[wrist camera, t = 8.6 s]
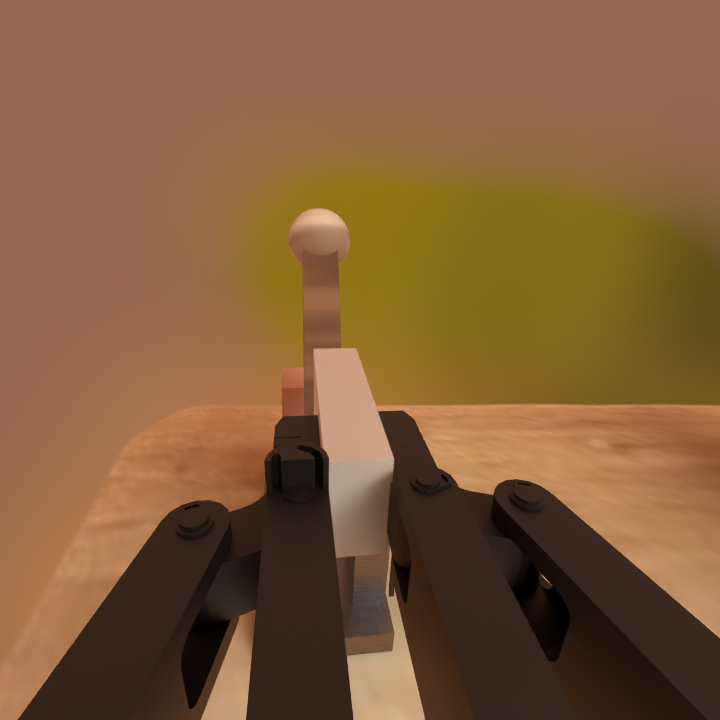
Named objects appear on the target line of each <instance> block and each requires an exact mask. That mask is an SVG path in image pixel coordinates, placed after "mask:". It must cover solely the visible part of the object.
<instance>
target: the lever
mask: <svg viewBox="0 0 720 720" xmlns="http://www.w3.org/2000/svg"><path fill="white" fill-rule="evenodd" d="M349 242H350V239H349V232H348V229H347V227H346V225H345V223H344V222H343V220H342V219H341V218H340V217H339V216H338V215H336V214H335V213H334V212H332V211H329V210H327V209H321V208H316V209H310V210H307V211H305V212H303V213H302V214H301V215H299V216H298V217H297V218H296V219H295V221H294V222H293V224H292V226H291V229H290V232H289V246H290V250H291V252H292V254H293V256H294V257H295V259H296V260H297V261H298V262H299V263H300V264H301V265H302V266H303V335H304V336H303V341H304V416H306V415H314V351H313V349H331V348H341V330H340V301H339V300H340V299H339V270H338V265H339V264H340V263H341V262H342V260H343V259H344V258H345V256H346V254H347V252H348V249H349Z"/></svg>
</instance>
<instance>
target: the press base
mask: <svg viewBox="0 0 720 720" xmlns="http://www.w3.org/2000/svg"><path fill="white" fill-rule="evenodd" d="M265 494H266V480H265V489H264V495H265ZM389 550H390V543H389V539H388V544H387V554H376V555H363V556H351V557H339V558H336V562H337V571H338V580H339V590H340V599H341V609H342V618H343V627H344V637H345V646H346V655H355V654H365V653H374V652H384V651H392V648H393V639H394V630H393V625H392V621H391V616H390V611H389V607H388V602H387V597H386V593H385V591H386V581H387V571H388V561H389Z"/></svg>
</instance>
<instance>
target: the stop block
mask: <svg viewBox="0 0 720 720" xmlns="http://www.w3.org/2000/svg"><path fill="white" fill-rule="evenodd" d="M282 412H283V416H304V367H286V368H285V367H284V368H283V381H282Z"/></svg>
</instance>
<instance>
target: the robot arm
mask: <svg viewBox="0 0 720 720" xmlns="http://www.w3.org/2000/svg"><path fill="white" fill-rule="evenodd" d="M313 351H314V415H306V416H283V417H282V419H281V420H280V421H279V422H278V423H277V425H276V426H275V435H274V449H273V450H272V451H271V452H270V453H268V454H267V457H266V459H265V461H264V462H265V479H266V494H265V495H264V496H263V497H262V498H260V499H259V500H258V501H256V502H255V503H253V504H251V505H249V506H246V507H244V508H241V509H238V510H235V511H231V512H228V509H227V508H226V507H224V506H223V505H222V504H220V503H217V502H214V501H210V500H205V501H194V502H190V503H187V504H183V505H181V506H180V507H178V508H176V509H174V510H172V511H171V512H170V513H169V514H168V515H167V516H166V517H165V518H164V519H163V520H162V521H161V522H160V524H159V525H158V526H157V528H156V529H155V531H154V532H153V533H152V535H151V536H150V538H149V539H148V540H147V542H146V543H145V544H144V546H143V547H142V549H141V550H140V551H139V553H138V554H137V556H136V557H135V558H134V560H133V561H132V562H131V564H130V565H129V567H128V568H127V569H126V571H125V572H124V574H123V575H122V576H121V578H120V579H119V580H118V582H117V583H116V585H115V586H114V587H113V589H112V590H111V592H110V593H109V594H108V596H107V597H106V598H105V600H104V601H103V603H102V604H101V605H100V607H99V608H98V610H97V611H96V612H95V614H94V615H93V616H92V618H91V619H90V621H89V622H88V623H87V625H86V626H85V628H84V629H83V630H82V632H81V633H80V634H79V636H78V637H77V639H76V640H75V641H74V643H73V644H72V646H71V647H70V648H69V650H68V651H67V652H66V654H65V655H64V657H63V658H62V659H61V661H60V662H59V664H58V665H57V666H56V668H55V669H54V670H53V672H52V673H51V675H50V676H49V677H48V679H47V680H46V682H45V683H44V684H43V686H42V687H41V688H40V690H39V691H38V693H37V694H36V695H35V697H34V698H33V700H32V701H31V702H30V704H29V705H28V706H27V708H26V709H25V711H24V712H23V713H22V715H21V716H20V718H19V719H18V720H201V718H202V715H203V712H204V710H205V707H206V705H207V702H208V699H209V697H210V694H211V692H212V689H213V686H214V684H215V681H216V679H217V676H218V673H219V671H220V668H221V666H222V663H223V660H224V658H225V655H226V653H227V650H228V647H229V645H230V642H231V640H232V637H233V634H234V632H235V629H236V627H237V624H238V621H239V616H240V615H242V614H245V613H247V612H250V611H252V610H255V609H256V616H255V627H254V638H253V649H252V660H251V671H250V683H249V694H248V705H247V716H246V720H353V711H352V702H351V693H350V683H349V674H348V665H347V655H346V646H345V637H344V627H343V618H342V609H341V599H340V590H339V580H338V571H337V562H336V558H339V557H351V556H363V555H376V554H387V544H388V539H389V543H390V547H391V551H392V558H391V570H390V582H389V597H390V596H394V587H395V592H396V596H397V600H398V605H399V609H400V613H401V617H402V622H403V626H404V630H405V634H406V639H407V643H408V647H409V651H410V656H411V660H412V664H413V669H414V673H415V677H416V681H417V686H418V690H419V694H420V698H421V703H422V707H423V711H424V716H425V720H720V638H719V637H717V636H716V635H715V634H714V633H713V632H712V631H711V630H709V629H708V628H707V627H706V626H705V625H704V624H702V623H701V622H700V621H699V620H698V619H697V618H695V617H694V616H693V615H692V614H691V613H690V612H688V611H687V610H686V609H685V608H684V607H683V606H681V605H680V604H679V603H678V602H677V601H676V600H675V599H673V598H672V597H671V596H670V595H669V594H668V593H666V592H665V591H664V590H663V589H662V588H661V587H659V586H658V585H657V584H656V583H655V582H654V581H652V580H651V579H650V578H649V577H648V576H647V575H646V574H644V573H643V572H642V571H641V570H640V569H639V568H637V567H636V566H635V565H634V564H633V563H632V562H630V561H629V560H628V559H627V558H626V557H625V556H623V555H622V554H621V553H620V552H619V551H618V550H616V549H615V548H614V547H613V546H612V545H611V544H610V543H608V542H607V541H606V540H605V539H604V538H603V537H601V536H600V535H599V534H598V533H597V532H596V531H594V530H593V529H592V528H591V527H590V526H589V525H587V524H586V523H585V522H584V521H583V520H582V519H580V518H579V517H578V516H577V515H576V514H575V513H574V512H572V511H571V510H570V509H569V508H568V507H567V506H565V505H564V504H563V503H562V502H561V501H560V500H558V499H557V498H556V497H555V496H554V495H553V494H551V493H550V492H549V491H547V490H546V489H544V488H543V487H541V486H539V485H537V484H534V483H532V482H529V481H524V480H517V479H515V480H506V481H504V482H502V483H499V484H498V485H497V487H496V488H495V490H494V495H490V494H484V493H478V492H472V491H468V490H464V489H461V488H459V487H458V485H457V483H456V481H455V480H454V479H453V478H452V476H451V475H450V474H448V473H446V472H445V471H443V470H442V469H439V468H437V466H436V464H435V462H434V460H433V458H432V456H431V453H430V451H429V449H428V447H427V445H426V443H425V441H424V440H423V437H422V435H421V433H420V432H419V428H418V426H417V424H416V422H415V420H414V419H413V418H412V417H411V416H409V415H408V414H407V413H405V412H404V411H380V412H378V411H377V408H376V405H375V402H374V399H373V396H372V393H371V390H370V387H369V384H368V381H367V379H366V376H365V373H364V370H363V367H362V364H361V361H360V358H359V356H358V352H357V349H356V348H331V349H313ZM542 575H543V576H544V577H545V578H546V579H547V580H548V581H549V582H550V584H549V583H548V582H547V581H546V580H545V579H544V578H543V577H542Z"/></svg>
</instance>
